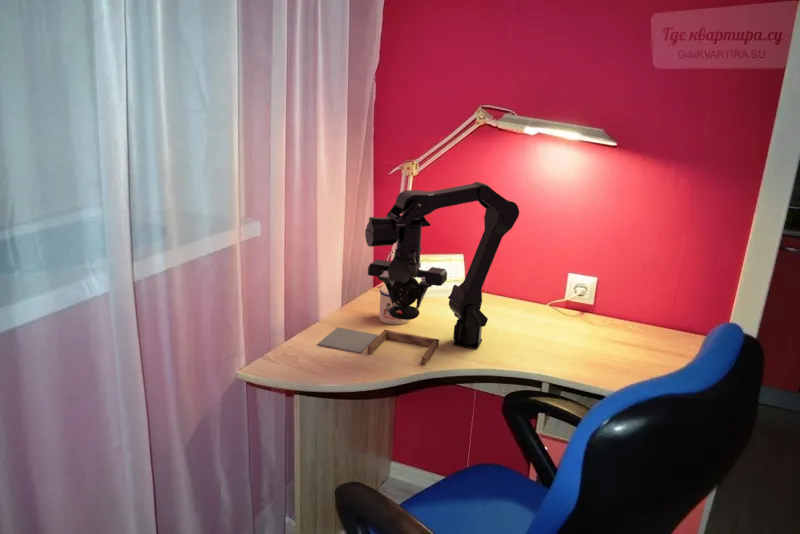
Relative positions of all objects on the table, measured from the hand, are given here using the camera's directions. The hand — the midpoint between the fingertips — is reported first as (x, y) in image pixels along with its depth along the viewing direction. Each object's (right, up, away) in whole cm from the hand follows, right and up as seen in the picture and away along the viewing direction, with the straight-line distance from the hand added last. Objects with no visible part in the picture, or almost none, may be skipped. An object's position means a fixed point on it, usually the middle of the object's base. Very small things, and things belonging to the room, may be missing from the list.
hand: (405, 305), depth 148 cm
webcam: (0, -3, +1) cm, 3 cm away
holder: (-1, -12, +4) cm, 12 cm away
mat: (-15, -10, +8) cm, 19 cm away
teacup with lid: (-2, -6, +24) cm, 25 cm away
